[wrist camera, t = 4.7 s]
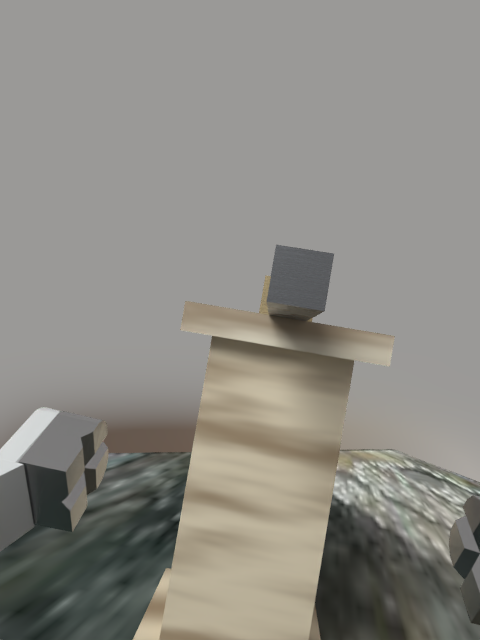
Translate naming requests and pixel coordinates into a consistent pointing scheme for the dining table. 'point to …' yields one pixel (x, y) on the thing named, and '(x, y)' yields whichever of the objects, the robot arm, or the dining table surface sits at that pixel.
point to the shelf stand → (259, 477)
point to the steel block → (297, 284)
